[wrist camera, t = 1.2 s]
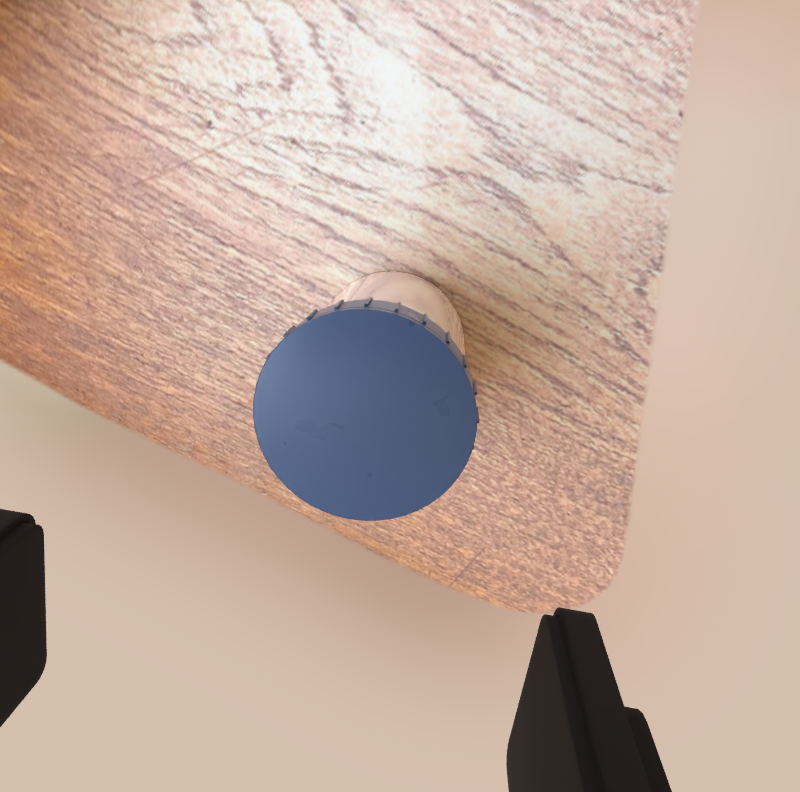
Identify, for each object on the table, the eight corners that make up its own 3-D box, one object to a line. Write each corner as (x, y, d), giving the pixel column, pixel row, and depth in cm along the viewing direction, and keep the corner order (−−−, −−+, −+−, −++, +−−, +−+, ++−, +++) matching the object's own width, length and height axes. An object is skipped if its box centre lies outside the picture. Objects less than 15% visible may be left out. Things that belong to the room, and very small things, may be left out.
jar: (476, 284, 29) (487, 334, 20) (450, 421, 31) (448, 524, 22) (329, 259, 29) (273, 298, 20) (313, 398, 31) (256, 490, 22)
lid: (496, 316, 21) (500, 329, 19) (456, 514, 23) (456, 539, 21) (275, 280, 21) (260, 288, 19) (257, 479, 23) (242, 502, 22)
